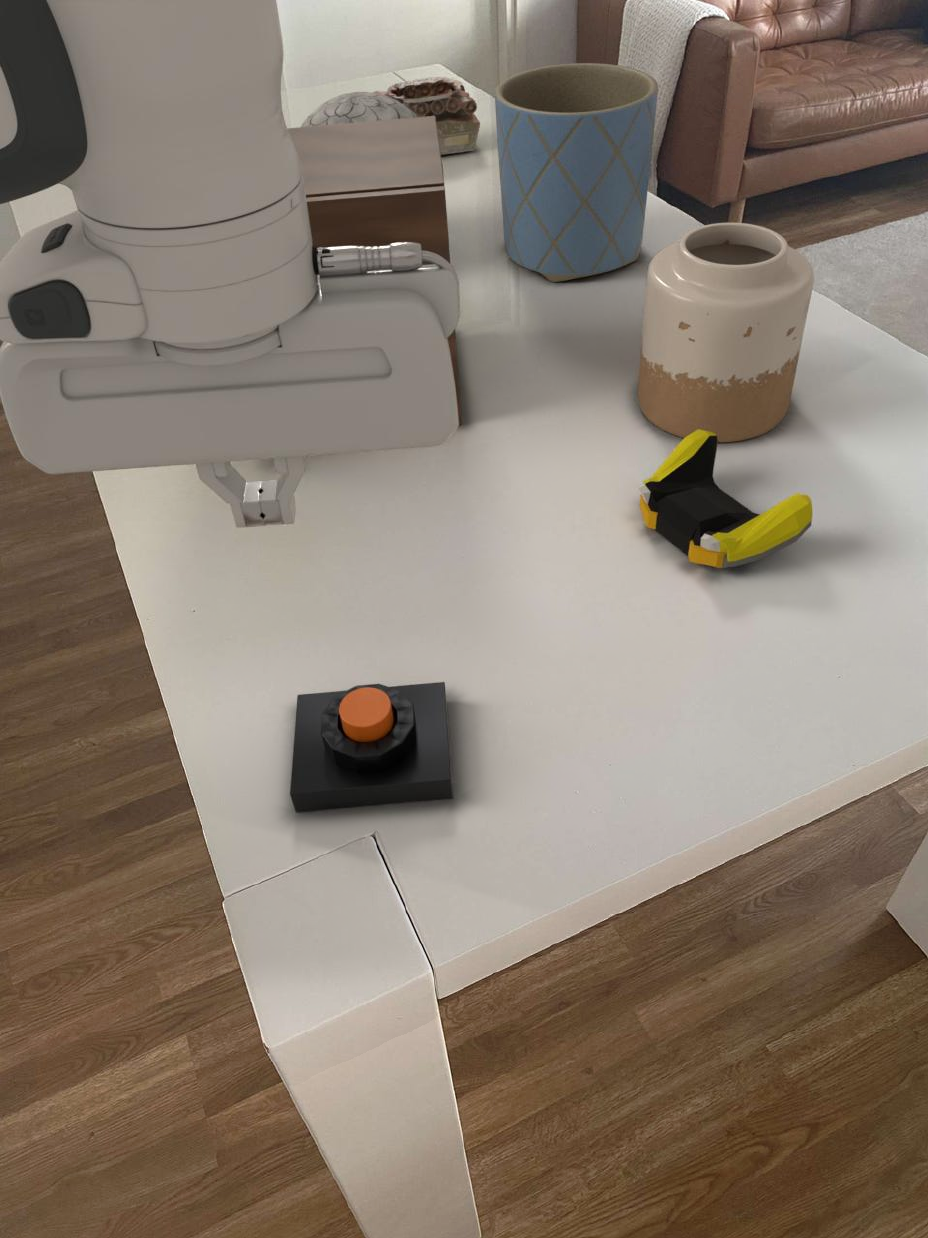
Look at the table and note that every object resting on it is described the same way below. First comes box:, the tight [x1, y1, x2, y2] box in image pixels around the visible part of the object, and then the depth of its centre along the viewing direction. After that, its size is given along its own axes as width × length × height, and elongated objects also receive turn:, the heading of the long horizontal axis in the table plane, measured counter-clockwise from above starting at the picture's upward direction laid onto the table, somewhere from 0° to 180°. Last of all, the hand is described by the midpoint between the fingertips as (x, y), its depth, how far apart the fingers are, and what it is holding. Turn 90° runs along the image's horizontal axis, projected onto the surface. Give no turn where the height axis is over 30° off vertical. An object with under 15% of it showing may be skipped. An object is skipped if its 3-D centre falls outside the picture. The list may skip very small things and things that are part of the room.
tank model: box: [372, 76, 481, 156], centre depth 153 cm, size 13×20×10 cm, turn 98°
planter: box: [494, 62, 659, 283], centre depth 121 cm, size 19×19×20 cm
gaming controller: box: [638, 429, 813, 570], centre depth 85 cm, size 15×6×10 cm
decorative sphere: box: [300, 91, 445, 179], centre depth 124 cm, size 20×20×20 cm
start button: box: [339, 687, 394, 743], centre depth 68 cm, size 4×4×2 cm
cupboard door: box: [306, 185, 463, 425], centre depth 90 cm, size 7×26×24 cm, turn 93°
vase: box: [637, 222, 815, 443], centre depth 95 cm, size 15×15×17 cm
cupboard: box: [287, 116, 445, 198], centre depth 99 cm, size 18×26×24 cm
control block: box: [289, 681, 454, 813], centre depth 69 cm, size 11×9×4 cm
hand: (267, 518), depth 50 cm, fingers closed
